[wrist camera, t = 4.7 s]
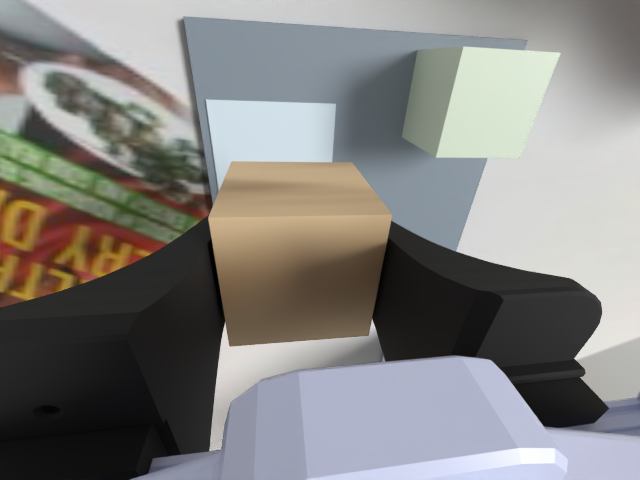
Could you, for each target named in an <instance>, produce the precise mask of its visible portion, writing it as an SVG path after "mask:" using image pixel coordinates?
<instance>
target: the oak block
mask: <svg viewBox="0 0 640 480" xmlns="http://www.w3.org/2000/svg"><path fill="white" fill-rule="evenodd" d="M391 219H392V213H391V212H390V211H389V210H388V208H387V207H386V206H385V204H384V203H383V202H382V200H381V199H380V198H379V197H378V195H377V194H376V193H375V191H374V190H373V189H372V188H371V186H370V185H369V184H368V182H367V181H366V180H365V178H364V177H363V176H362V175H361V173H360V172H359V171H358V169H357V168H356V167H355V165H354V164H353V163H352V162H249V161H231V163H230V166H229V168H228V171H227V173H226V175H225V178H224V180H223V183H222V185H221V188H220V190H219V193H218V195H217V197H216V200H215V202H214V205H213V207H212V210H211V212H210V215H209V217H208V220H209V226H210V232H211V238H212V244H213V250H214V256H215V262H216V268H217V274H218V280H219V286H220V292H221V298H222V304H223V310H224V316H225V322H226V328H227V334H228V340H229V346H241V345H254V344H267V343H280V342H293V341H306V340H319V339H332V338H345V337H358V336H369V331H370V326H371V321H372V316H373V311H374V306H375V300H376V295H377V290H378V285H379V280H380V275H381V270H382V265H383V260H384V255H385V250H386V244H387V239H388V234H389V229H390V224H391Z"/></svg>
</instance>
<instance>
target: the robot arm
mask: <svg viewBox="0 0 640 480" xmlns="http://www.w3.org/2000/svg"><path fill="white" fill-rule="evenodd" d="M208 217H209V215H208V216H207V217H206V218H204V219H203V220H202V221H200V222H199V223H198V224H196V225H195V226H194V227H192V228H191V229H190V230H188V231H187V232H186V233H184V234H183V235H181V236H180V237H178V238H177V239H175V240H174V241H172V242H171V243H169V244H168V245H166V246H164V247H163V248H161V249H159V250H158V251H156V252H154V253H152V254H150V255H149V256H147V257H145V258H143V259H141V260H139V261H137V262H135V263H133V264H130V265H128V266H126V267H123V268H121V269H119V270H116V271H114V272H112V273H109V274H107V275H105V276H102V277H100V278H97V279H94V280H92V281H89V282H86V283H83V284H80V285H77V286H74V287H71V288H68V289H65V290H62V291H59V292H56V293H53V294H49V295H46V296H42V297H38V298H35V299H31V300H28V301H24V302H20V303H17V304H13V305H9V306H6V307H2V308H0V480H640V392H639V393H638V396H637V397H636V398H628V399H620V400H612V401H605V402H603V401H602V400H601V399H600V398H599V397H598V396H597V395H596V394H595V393H594V392H593V391H592V390H591V389H590V388H589V386H588V385H587V384H586V383H585V382H584V381H583V380H582V379H581V378H580V377H582V376H584V374H585V369H584V368H583V367H582V366H581V365H580V364H579V363H578V362H577V361H576V360H575V359H574V358H575V356H576V355H577V354H578V352H579V351H580V350H581V349H582V347H583V346H584V345H585V343H586V342H587V341H588V339H589V338H590V337H591V336H592V334H593V333H594V331H595V330H596V328H597V326H598V325H599V323H600V319H601V316H602V307H601V302H600V301H599V300H598V298H597V297H596V296H595V295H594V294H592V293H591V292H590V291H588V290H587V289H585V288H584V287H583V286H581V285H580V284H579V283H577V282H576V281H574V280H572V279H570V278H565V277H559V276H553V275H547V274H542V273H536V272H530V271H525V270H520V269H516V268H511V267H507V266H503V265H498V264H495V263H491V262H487V261H484V260H480V259H477V258H474V257H471V256H468V255H464V254H461V253H459V252H456V251H453V250H451V249H448V248H446V247H443V246H441V245H438V244H436V243H433V242H431V241H429V240H427V239H425V238H423V237H421V236H419V235H417V234H415V233H413V232H411V231H409V230H407V229H405V228H404V227H402V226H400V225H398V224H397V223H395V222H393V221H391V224H390V229H389V234H388V239H387V244H386V250H385V255H384V260H383V265H382V270H381V275H380V280H379V285H378V290H377V295H376V300H375V306H374V311H373V316H372V319H373V322H374V325H375V328H376V331H377V334H378V337H379V341H380V344H381V348H382V351H383V358H382V362H378V363H367V364H357V365H346V366H335V367H324V368H313V369H302V370H296V371H292V372H288V373H284V374H280V375H276V376H272V377H269V378H265V379H262V380H261V381H259V382H258V383H257V384H255V385H254V386H253V387H251V388H250V389H248V390H247V391H246V392H244V393H243V394H242V395H240V396H239V397H238V398H236V399H235V400H233V401H232V402H231V404H230V407H229V411H228V414H227V418H226V422H225V426H224V434H223V441H222V449H221V450H216V451H209V447H210V436H211V425H212V415H213V405H214V395H215V386H216V377H217V368H218V360H219V352H220V345H221V338H222V333H223V328H224V324H225V316H224V310H223V304H222V298H221V292H220V286H219V280H218V274H217V268H216V262H215V256H214V250H213V244H212V238H211V232H210V226H209V220H208Z"/></svg>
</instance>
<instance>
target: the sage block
mask: <svg viewBox="0 0 640 480" xmlns="http://www.w3.org/2000/svg"><path fill="white" fill-rule="evenodd" d="M560 54H561V53H557V52H541V51H526V50H510V49H494V48H479V47H450V48H437V49H424V50H417V55H416V61H415V66H414V72H413V77H412V83H411V88H410V94H409V99H408V105H407V110H406V116H405V121H404V127H403V132H402V138H404V139H406V140H407V141H409V142H411V143H412V144H414V145H416V146H417V147H419V148H421V149H422V150H424V151H426V152H427V153H429V154H431V155H433V156H434V157H436V158H519V157H520V155H521V152H522V150H523V147H524V145H525V142H526V140H527V137H528V135H529V132H530V130H531V127H532V124H533V122H534V119H535V117H536V114H537V112H538V109H539V107H540V104H541V102H542V99H543V97H544V94H545V92H546V89H547V86H548V84H549V81H550V79H551V76H552V74H553V71H554V69H555V66H556V64H557V61H558V59H559V56H560Z"/></svg>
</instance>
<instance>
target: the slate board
mask: <svg viewBox="0 0 640 480" xmlns="http://www.w3.org/2000/svg"><path fill="white" fill-rule="evenodd" d="M183 18H184V24H185V30H186V37H187V43H188V50H189V56H190V62H191V69H192V75H193V81H194V88H195V94H196V101H197V107H198V113H199V120H200V126H201V132H202V139H203V145H204V152H205V158H206V164H207V171H208V177H209V184H210V190H211V196H212V203H213V205H214V202H215V200H216V197H217V195H218V193H219V190H220V188H221V185H222V183H223V180H224V178H225V175H226V173H227V171H228V168H229V166H230V163H231V161H249V162H352V163H353V164H354V165H355V167H356V168H357V169H358V171H359V172H360V173H361V175H362V176H363V177H364V178H365V180H366V181H367V182H368V184H369V185H370V186H371V188H372V189H373V190H374V191H375V193H376V194H377V195H378V197H379V198H380V199H381V200H382V202H383V203H384V204H385V206H386V207H387V208H388V210H389V211H390V212H391V213H392V219H391V221H393V222H395V223H397V224H398V225H400V226H402V227H404V228H405V229H407V230H409V231H411V232H413V233H415V234H417V235H419V236H421V237H423V238H425V239H427V240H429V241H431V242H433V243H436V244H438V245H441V246H443V247H446V248H448V249H451V250H453V251H456V250H457V247H458V244H459V241H460V238H461V235H462V232H463V229H464V226H465V223H466V220H467V217H468V214H469V211H470V208H471V205H472V202H473V200H474V197H475V194H476V191H477V188H478V185H479V182H480V179H481V176H482V173H483V170H484V167H485V164H486V161H487V158H436V157H434V156H433V155H431V154H429V153H427V152H426V151H424V150H422V149H421V148H419V147H417V146H416V145H414V144H412V143H411V142H409V141H407V140H406V139H404V138H402V132H403V127H404V121H405V116H406V110H407V105H408V99H409V94H410V88H411V83H412V77H413V72H414V66H415V61H416V55H417V50H424V49H437V48H450V47H479V48H494V49H510V50H524V49H525V46H526V43H527V40H516V39H501V38H487V37H472V36H458V35H444V34H429V33H415V32H400V31H386V30H372V29H357V28H343V27H329V26H314V25H300V24H285V23H271V22H257V21H242V20H228V19H213V18H199V17H185V16H183Z"/></svg>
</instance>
